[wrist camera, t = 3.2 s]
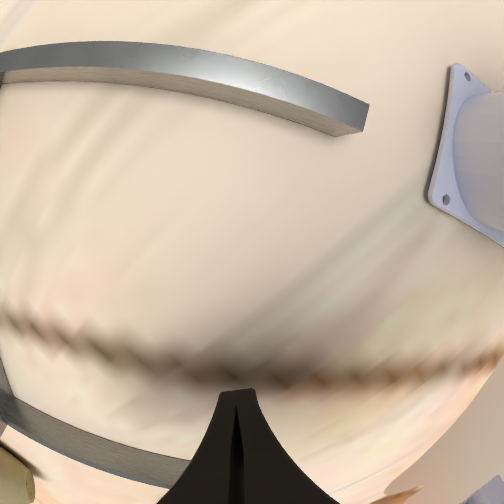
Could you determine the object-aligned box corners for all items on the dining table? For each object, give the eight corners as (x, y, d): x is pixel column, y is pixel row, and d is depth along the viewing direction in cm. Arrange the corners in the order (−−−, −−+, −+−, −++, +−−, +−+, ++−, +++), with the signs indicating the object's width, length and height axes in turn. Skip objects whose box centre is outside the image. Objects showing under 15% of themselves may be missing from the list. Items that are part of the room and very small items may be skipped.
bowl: (43, 505, 16) (2, 492, 13) (34, 448, 22) (-6, 434, 18) (30, 529, 9) (-20, 509, 6) (15, 459, 14) (-33, 439, 11)
